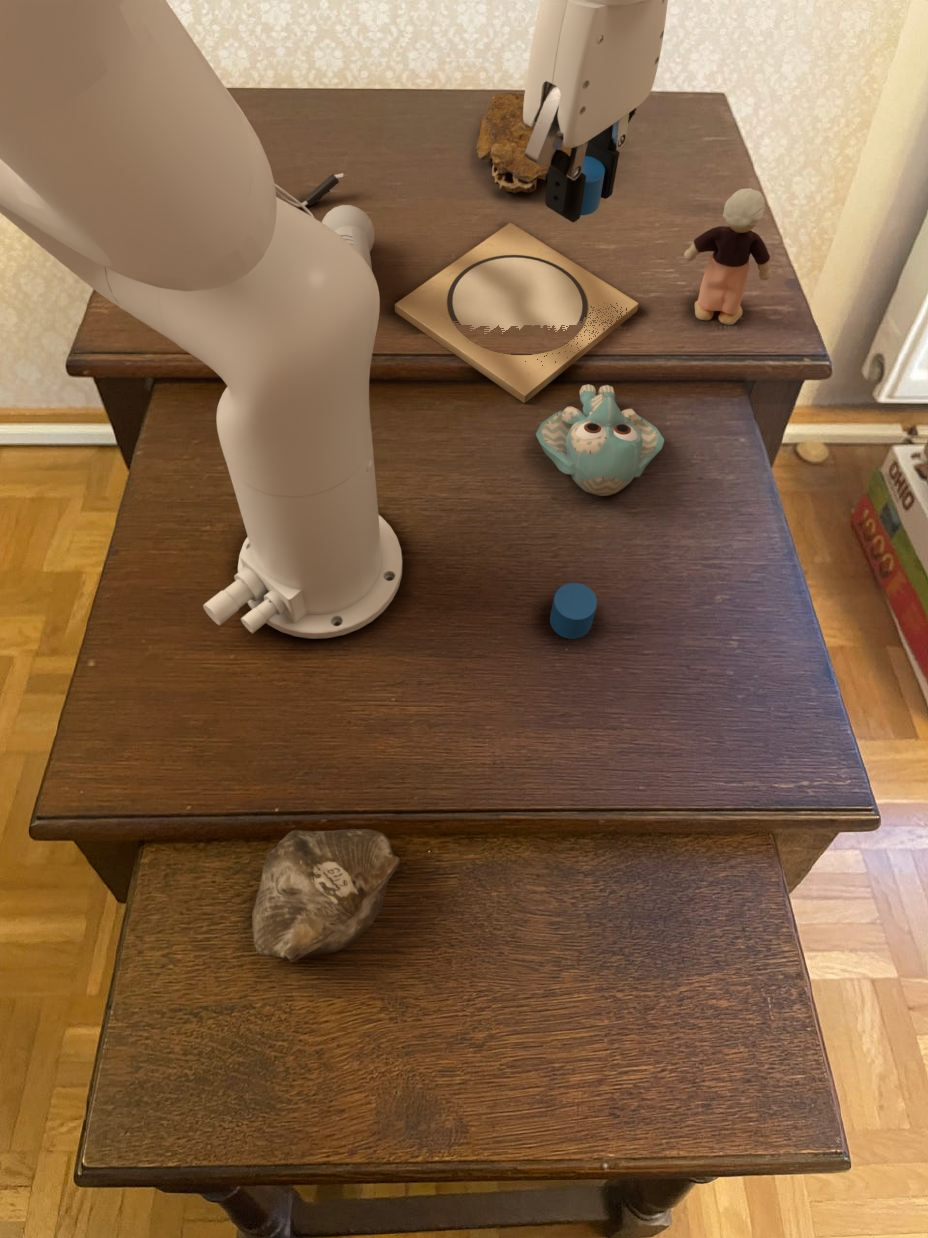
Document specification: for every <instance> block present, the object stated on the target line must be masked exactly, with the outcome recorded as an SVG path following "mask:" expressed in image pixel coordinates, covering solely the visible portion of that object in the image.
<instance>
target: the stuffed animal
mask: <svg viewBox="0 0 928 1238" xmlns="http://www.w3.org/2000/svg"><path fill="white" fill-rule="evenodd" d="M579 399H580V403H581V405H582V411H581V410H580V409H579V408H576V407H574V406H567V407H565V408H564V409H563V410H559V411H556V412H554V413H553V414H551V415H550V416H549V417H547V419H545V420H543V421H542V422H541V423H540V425H539V427H538V429H537V431H536V433H535V436H536V438H537V440H538V442H539V445H540V447H541V448H542V450H543V452H544V454H545V455H546V456H547V457H548V458H549V459H550V460H551V461H552V462H553V463H554V465H555V466H556V467H557V469H558V470H559V471H560V472H562V473H563V474H564V475H570V476H571V478H572V480H573V482H575V483H576V485H577V486H578V487H579V488H580V489H581V490H582V491H584V492H586V493H589V494H591V495H595V496H600V497H605V496H606V497H607V496H611V495H614V494H617V493H619V492H620V491H621V490H623V489H625V488H626V487H627V486H628V485H629V484H630V483H632V481H633V480H634V478H640V477H641V475H642V474H643V472H644V470H645V469H646V467H647V466H648V465H649V464H650V463H651V461H652V460H653V459H654V458H655V457H656V456H657V454H658V453H659V452H660V451H661V450H662V448H663V447H664V443H665V438H664V437H663V436H662V434H661V432H660V431H659V429H658V428H657V427H656V426H655V425H653V424H652V423H651V422H649V421H648V420H646V419H645V418H644V417H642V416H640V415H639V414H637V412H636V411H635V410H633V408H626V409H623V410H622V411H621V409H620V407H619V406H618V404H617V402H616V393H615V390H614V387H613V386H611V385H608V384H605V385H601V386H600V387H599V389H598V390H597V391H596V388H595V386H594V385H592V384H589V383H588V384H584V385H582V386H581V388H580V389H579Z"/></svg>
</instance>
